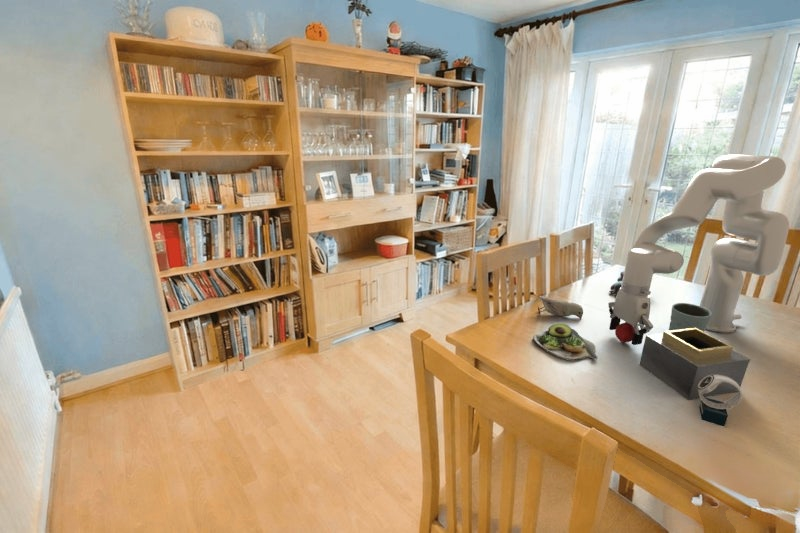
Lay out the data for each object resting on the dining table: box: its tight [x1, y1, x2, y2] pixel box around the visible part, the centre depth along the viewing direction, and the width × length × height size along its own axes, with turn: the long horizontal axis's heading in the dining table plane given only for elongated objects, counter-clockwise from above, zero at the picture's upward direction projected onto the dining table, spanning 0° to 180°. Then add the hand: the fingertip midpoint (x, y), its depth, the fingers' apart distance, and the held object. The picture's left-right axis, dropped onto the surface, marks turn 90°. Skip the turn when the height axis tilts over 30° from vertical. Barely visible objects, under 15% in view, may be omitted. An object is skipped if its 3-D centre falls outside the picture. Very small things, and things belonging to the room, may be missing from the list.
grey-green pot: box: [667, 302, 712, 332], centre depth 121 cm, size 10×10×12 cm
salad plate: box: [533, 323, 599, 361], centre depth 120 cm, size 19×18×5 cm
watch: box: [697, 374, 743, 428], centre depth 89 cm, size 6×8×11 cm
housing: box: [638, 328, 751, 401], centre depth 103 cm, size 16×16×12 cm
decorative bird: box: [537, 295, 584, 319], centre depth 140 cm, size 5×16×8 cm, turn 74°
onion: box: [614, 321, 636, 344], centre depth 122 cm, size 6×6×8 cm
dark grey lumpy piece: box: [608, 270, 624, 294], centre depth 158 cm, size 15×12×14 cm
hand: (624, 336), depth 122 cm, fingers open, 9 cm apart
